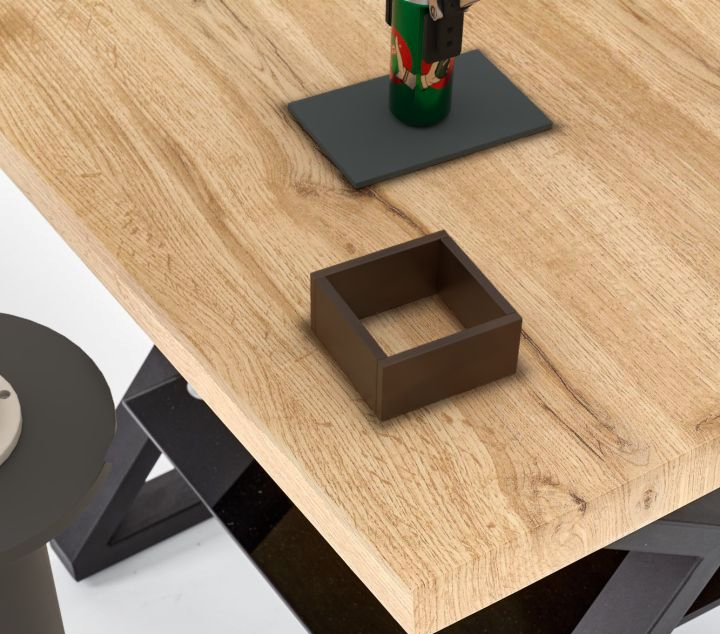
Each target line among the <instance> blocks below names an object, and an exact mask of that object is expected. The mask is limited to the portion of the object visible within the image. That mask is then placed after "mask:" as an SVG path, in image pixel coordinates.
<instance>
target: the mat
mask: <svg viewBox="0 0 720 634" xmlns="http://www.w3.org/2000/svg"><path fill="white" fill-rule="evenodd" d="M389 78H390V73H389V74H388V73H387V74H385V75H381V76H378V77H375V78H374V77H373V78H371V79H368V80H363V81H361V82H360V81H359V82H358V83H354V84H350V85H346V86H343V87H340V88H337V89H333V90H329V91H326V92H322V93H319V94H315V95H312V96H308V97H305V98H301V99H298V100H293V101H290V102H288V103H287V110H288V111H289V112H290V113H291V115H292V116H293V117H294V118H295V120H296V121H297V123H299V124H300V125H301V126H302V128H303V130H305V132H307V133H308V135H309V136H310V137H311V138H312V140H314V142H315V143H316V145H318V146H319V148H320V149H321V150H322V151H323V153H325V155H326V156H327V157H328V158H329V159H330V161H331V162H332V163H333V164H334V165H335V166H336V168H337V169H338V170H339V171H340V172H341V173H342V175H343V176H344V177H345V178H346V179H347V181H348V182H349V183H350V184H351V185H352V187H353V188H354V189H356V190H358V189H361V188H364V187H368V186H370V185H374V184H378V183H380V182H384V181H386V180H391V179H393V178H397V177H400V176H403V175H405V174H409V173H413V172H416V171H419V170H422V169H425V168H428V167H432V166H435V165H438V164H442V163H445V162H447V161H451V160H455V159H458V158H460V157H464V156H467V155H470V154H473V153H477V152H480V151H483V150H487V149H489V148H490V149H491V148H494V147H496V146H499V145H502V144H506V143H509V142H513V141H516V140H519V139H522V138H524V137H528V136H532V135H536V134H538V133H541V132H545V131H548V130H551V129H553V126H554V122H553V120H552V119H550V117H548V116H547V115H546V114H545V113H544V112H543V111H542V110H541V109H540V108H539V107H538V106H537V105H536V104H535V103H534V102H533V101H532V100H531V99H530V98H529V97H528V96H527V95H525V93H524V92H523V91H521V90H520V88H518V86H517V85H515V84H514V83H513V81H511V80H510V78H508V77H507V76H506V75H505V74H504V73H503V72H502V71H501V69H499V68H498V67H497V66H496V65H495V64H494V63H493V62H492V61H491V60H490V59H489V58H488V57H486V55H485V54H484V53H483V52H482V51H481V50H479V49H478V48H476V49H471V50H468V51H466V52H461V53H460V55H458V56H456V57H455V60H454V74H453V88H452V102H451V111H450V113H449V114H448V115H447V117H445V118H444V119H443V120H442V121H441V122H439V123H438V124H435V125H432V126H428V127H413V126H409V125H406V124H404V123H402V122H400V121H399V120H397V119H396V118H395V117H394V116H393V114H392V113H391V112H390V110H389Z"/></svg>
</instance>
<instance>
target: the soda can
mask: <svg viewBox="0 0 720 634" xmlns="http://www.w3.org/2000/svg"><path fill="white" fill-rule="evenodd" d="M428 13H430V10H429V0H392V23H391V26H390V51H389V52H390V53H389V54H390V55H389V74H390V78H389V110H390V112H391V113H392V114H393V116H394V117H395V118H396V119H397V120H399V121H400V122H402V123H404V124H406V125H409V126H413V127H428V126H432V125H435V124H438V123H439V122H441V121H442V120H443V119H444V118H445V117H447V115H448V114H449V113H450V111H451V102H452V88H453V74H454V60H455V57H453V58H449V59H446V60H442V61H439V62H435V63H432V64H426V63H425V62H424V61H423V59H422V48H423V29H424V15H425V14H428Z"/></svg>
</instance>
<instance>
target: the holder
mask: <svg viewBox="0 0 720 634" xmlns="http://www.w3.org/2000/svg"><path fill="white" fill-rule="evenodd" d="M309 282H310V283H309V289H310V291H309V293H310V295H309V300H310V303H309V304H310V305H309V306H310V329H311V330H312V332H313V333H314V334H315V336H316V337H317V339H318V340H319V341H320V342H321V344H322V345H323V346H324V348H325V349H326V350H327V352H328V353H329V354H330V356H331V357H332V358H333V360H334V361H335V363H336V364H337V365H338V366H339V368H340V369H341V371H342V372H343V373H344V374H345V375H346V377H347V379H348V380H349V382H350V383H351V384H352V385H353V386H354V387H355V389H356V391H357V392H359V394H360V395H361V398H363V400H364V401H365V402H366V403H367V406H369V408H370V410H372V412H373V413H374V415H376V416H377V418H378V419H379V421H380V422H382V423H383V422H385V421H388V420H391V419H394V418H396V417H398V416H401V415H404V414H407V413H410V412H413V411H415V410H419V409H420V408H423V407H427V406H429V405H431V404H434V403H437V402H440V401H443V400H446V399H449V398H450V397H451V398H452V397H454V396H456V395H459V394H462V393H465V392H467V391H471V390H473V389H476V388H479V387H481V386H484V385H486V384H489V383H493V382H495V381H498V380H501V379H503V378H506V377H509V376H511V375H514V374H516V373H517V371H518V370H517V369H518V362H519V353H520V344H521V337H522V328H523V320H524V319H523V317H522V316H521V315H520V313H519V312H518V311H517V309H515V308H514V306H513V305H512V304H511V303H510V302H509V300H508V299H507V298H506V297H505V296H504V295H503V293H501V292H500V291H499V289H498V287H496V286H495V285H494V284H493V282H492V281H491V280H490V279H489V277H487V276H486V274H485V273H484V272H483V271H482V270H481V269H480V268H479V266H478V265H477V264H475V262H474V261H473V260H472V259H471V257H470V256H469V255H468V254H467V253H466V252H465V251H464V250H463V248H461V246H459V244H458V243H457V242H456V240H454V239H453V237H452V236H450V234H449V233H448V232H447V230H445V229H441V230H437V231H434V232H431V233H428V234H425V235H423V236H419V237H417V238H414V239H410V240H406V241H404V242H401V243H397V244H395V245H392V246H389V247H386V248H381V249H379V250H377V251H376V250H375V251H373V252H370V253H367V254H363V255H361V256H358V257H355V258H351V259H349V260H346V261H343V262H342V261H341V262H339V263H337V264H334V265H331V266H327V267H324V268H322V269H318V270H314V271H312V272H310V273H309ZM434 294H437V296H438V297H439V298H440V299H441V300H442V302H443V303H444V304H445V305H446V306H447V307H448V309H449V310H450V311H451V312H452V313H453V314H454V315H455V317H456V318H457V319H458V321H460V323H461V324H462V325H463V326H464V328H465V329H463V330H460V331H458V332H455V333H452V334H449V335H446V336H443V337H441V338H437V339H435V340H431V341H429V342H426V343H424V344H420V345H418V346H415V347H412V348H409V349H406V350H403V351H400V352H397V353H395V354H391V355H388V354H387V353H386V352H385V350H383V348H382V347H381V345H380V344H379V343H378V342H377V341H376V339H375V338H374V337H373V336H372V334H371V333H370V332H369V331H368V328H367V327H366V326H365V325H364V324H363V322H362V321H361V320H360V319H364V318H367V317H369V316H372V315H375V314H378V313H381V312H385V311H387V310H390V309H393V308H396V307H399V306H402V305H405V304H409V303H411V302H414V301H417V300H420V299H422V298H425V297H428V296H432V295H434Z"/></svg>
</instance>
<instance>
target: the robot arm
mask: <svg viewBox="0 0 720 634" xmlns="http://www.w3.org/2000/svg"><path fill="white" fill-rule="evenodd" d="M481 1H482V0H429V10H430V13H428V14H425V15H424V29H423V48H422V59H423V61H424V62H425V63H426V64H432V63H435V62H439V61H442V60H446V59H449V58H453V57H456V56H458V55H460V54H462V50H463V49H462V48H463V36H464V22H465V14H466V13H468V12H469V10H470V7H472V6H473V5H474V4H476V3H479V2H481ZM384 12H385V14H384V15H385V18H384V22H385V23H386V24H387V25H388V27H391V23H392V0H385V11H384ZM22 421H23V420H22V414H21V408H20V404H19V400H18V397H17V394H16V393H15V391H14V390H13V388H12V386H11V385H10V384H9V383H8V382H7V381H6V380H5V379H4V378H3V377H2V376H1V375H0V465H1V464H2V463H3V462H4V461H5V460H6V459H7V458H8V457H9V456H10V454H11V453H12V451H13V450H14V448H15V447H16V445H17V442H18V440H19V437H20V435H21V429H22Z"/></svg>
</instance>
